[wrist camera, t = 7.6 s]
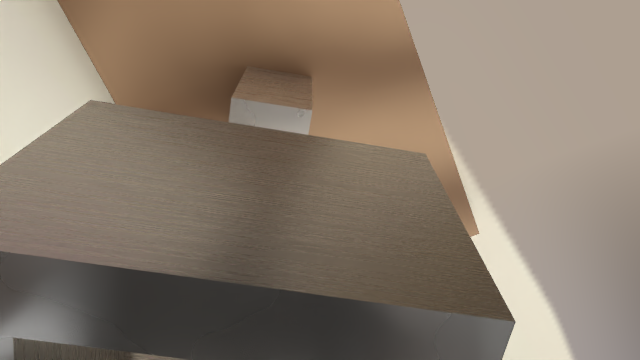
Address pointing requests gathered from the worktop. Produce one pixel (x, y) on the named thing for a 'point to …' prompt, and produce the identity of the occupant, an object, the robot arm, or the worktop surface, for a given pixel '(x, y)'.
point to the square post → (273, 100)
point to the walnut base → (274, 66)
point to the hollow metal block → (233, 247)
